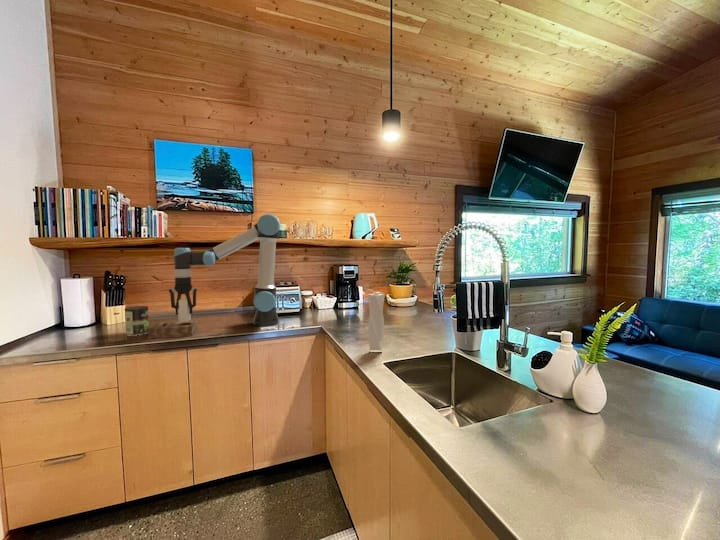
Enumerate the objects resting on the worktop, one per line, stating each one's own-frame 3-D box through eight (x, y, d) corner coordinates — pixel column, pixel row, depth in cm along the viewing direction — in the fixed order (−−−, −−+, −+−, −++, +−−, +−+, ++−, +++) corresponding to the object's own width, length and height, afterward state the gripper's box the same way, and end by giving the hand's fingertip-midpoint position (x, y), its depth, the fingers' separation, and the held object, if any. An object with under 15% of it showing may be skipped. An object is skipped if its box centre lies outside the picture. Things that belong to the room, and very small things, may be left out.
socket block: (197, 329, 180) (197, 320, 179) (192, 336, 166) (192, 326, 166) (157, 332, 174) (157, 322, 174) (148, 338, 161) (147, 329, 160)
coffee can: (152, 330, 176) (151, 305, 176) (143, 335, 166) (142, 309, 165) (132, 331, 175) (131, 306, 174) (121, 336, 165) (120, 309, 164)
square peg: (189, 320, 174) (188, 298, 173) (187, 322, 170) (187, 299, 169) (181, 320, 172) (180, 298, 172) (179, 322, 169) (178, 300, 168)
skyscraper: (366, 353, 139) (367, 289, 137) (366, 348, 147) (366, 287, 145) (385, 353, 139) (385, 289, 138) (383, 348, 147) (384, 287, 145)
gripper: (202, 275, 176) (203, 317, 177) (166, 276, 171) (168, 319, 172) (199, 277, 168) (200, 320, 170) (162, 277, 164) (164, 322, 165)
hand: (184, 320), depth 171 cm, fingers closed on square peg, 4 cm apart
